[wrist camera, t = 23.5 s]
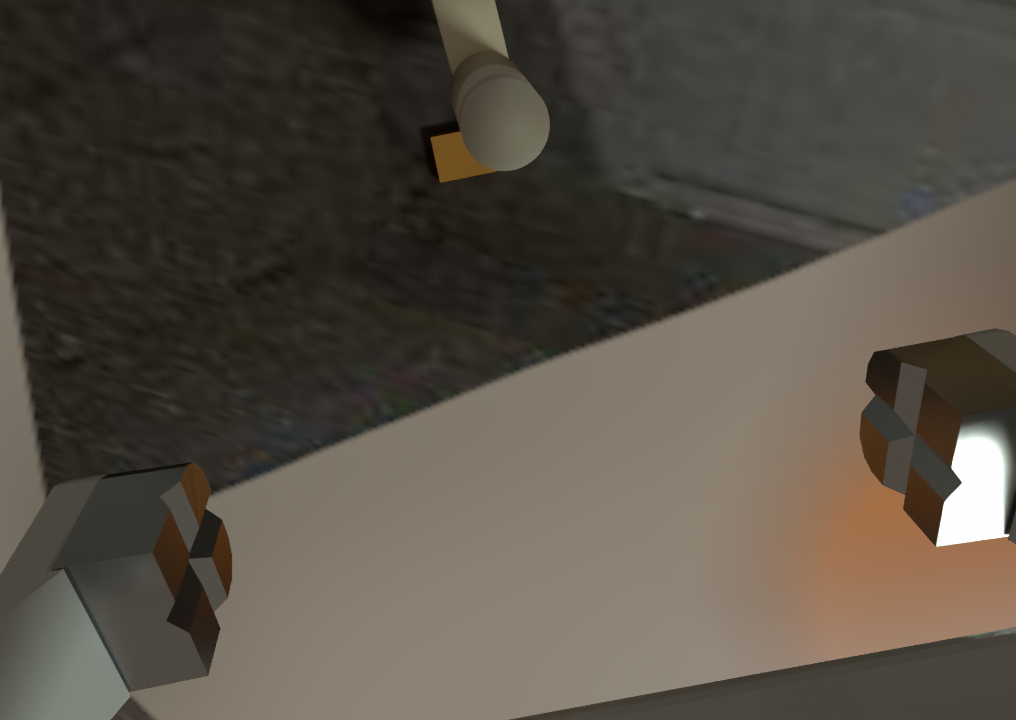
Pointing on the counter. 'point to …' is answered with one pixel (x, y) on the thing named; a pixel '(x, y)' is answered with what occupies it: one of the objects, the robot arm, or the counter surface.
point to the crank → (489, 88)
